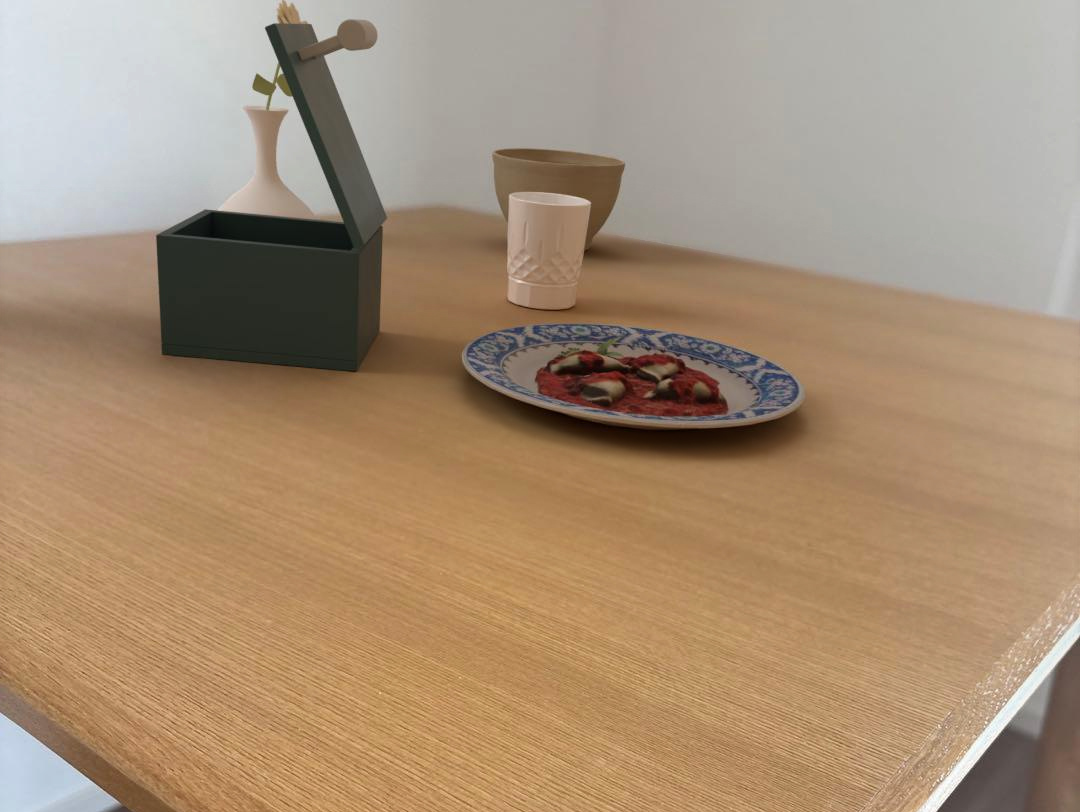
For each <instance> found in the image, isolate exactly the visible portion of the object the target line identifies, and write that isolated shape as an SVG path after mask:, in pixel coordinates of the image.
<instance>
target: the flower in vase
mask: <svg viewBox="0 0 1080 812" xmlns="http://www.w3.org/2000/svg"><path fill="white" fill-rule="evenodd" d="M276 13H277V14H276V20H277V22H278V23H284V24H309V22H308V21H307V20H303V21H301V17H300V14H299V11H298V9H297V8H296V6H295V4H294V2H290V3H289V5H288V4H287V2H286V0H281V2H279V3H278V7H276ZM280 70H281V67H280V64H279V62H278V61H277V65H276V68H275V72H274V76H273V79H272V82H271V81H269V80H268V79H266V78H264V77H263V76H261V74H259V73H256V74H255V75H254V79H253V81H252V84H251V85H252V86H251V87H252V90H253V91H255V92H257V93H259V94H261V95H264V96H267V101H266V104H265V105H242V109H243V110H244V112H245V113H246V114H247V117H248V118H249V121H250V123H251V126H252V130H253V136H254V140H255V141H254V143H255V169H254V173H253V175H252V177H251V178H250V179H249V180H248V182H247V183H246V184H244V186H242V187H241V188H239V189H238V190H237V191H236V192H235V193H233V194H232V195H231V196H230V197H229V198H227V199H226V200H225V201H224V202H223V203H222V204H221V205H220V207H218V209H217V211H228V212H239V213H250V214H260V215H271V216H282V217H293V218H303V219H314V220H317V219H316V216H315V214H314V212H313V211H312V210H311V209H310V207H309V206H308V205H307V204H306V203H305V202H304V201H303V200H301V198H299V197H298V196H297V195H296V194H295V193H294V192H293V190H291V189H289V188H288V186H287V185H286V184H285V183H284V182H283V180H281V178H280V175H279V172H278V167H277V147H278V138H279V133H280V128H281V125H282V122H283V121H284V118H285V117H286V116H287V114H288V113H289V109H287V108H283V107H277V106H271V101H272V98H273V94H274V92H276V90H277V86H278V87H279V89H280V90H281V91H282V93H283V94H284V95H285V96H287V97H290V98H291V97H292V98H293V96H292V94H291V91H290V89H289V86H288V84H287V81H286V79H285V77H284V74H283V73H280ZM279 73H280V74H279Z"/></svg>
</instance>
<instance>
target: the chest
mask: <svg viewBox="0 0 1080 812" xmlns="http://www.w3.org/2000/svg"><path fill="white" fill-rule="evenodd" d="M383 235H384V227H383V225H381V226H380V227H379V228H378V230H377V231H376V232H375V233H374V234H373V235H372V237H371V238H370V239H369V240H368V241H367V242H366V244H365V245H364V246H361V247H358V248H354V246H353V244H352V241H351V239H350V236H349V234H348V231H347V229H346V226H345V224H344V222H343V221H335V220H323V219H316V220H314V219H303V218H293V217H282V216H271V215H260V214H250V213H239V212H228V211H218V209H216V210H215V209H208V208H207V209H206V208H205V209H203V210H202V211H199V212H198V213H196V214H194V215H192V216H190V217H187V218H186V219H184V220H182V221H181V222H180V221H179V223H177V224H174V225H173V226H171V227H169V228H167V229H165V230H163V231H161V232H159V233H157V234H156V236H155V243H156V260H157V261H156V263H157V281H158V283H157V284H158V303H159V321H160V341H161V344H160V345H161V354H162V355H166V356H167V355H168V356H178V357H190V358H201V359H211V360H223V361H232V362H233V361H234V362H243V363H257V364H269V365H279V366H291V367H300V368H301V367H302V368H311V369H312V368H313V369H325V370H336V371H344V372H345V371H347V372H358V369H359V368H360V367H361V364H362V363H363V361H364V359H365V357H366V356H367V354H368V352H369V350H370V348H371V346H372V345H373V343H374V341H375V339H377V337H378V334H379V333H380V330H381V327H380V326H381V301H382V300H381V299H382V272H383V271H382V269H383V268H382V267H383V237H384V236H383Z"/></svg>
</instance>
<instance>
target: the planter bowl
mask: <svg viewBox="0 0 1080 812" xmlns="http://www.w3.org/2000/svg"><path fill="white" fill-rule="evenodd" d="M491 153H492V154H491V155H492V163H493V183H494V191H495V194H496V198H497V202H498V205H499V208H500V210H501V212H502V215H503V217H504V219H505V221H506V223H507V224H508V213H509V195H510V194H512V193H516V192H543V193H554V194H562V195H569V196H574V197H579V198H583V199H586V200H588V201H590V202H591V207H590V214H589V221H588V228H587V235H586V242H585V248H584V252H585V251H587V250H590V248H591V246H592V241H593V239H594V237H595V236H596V235H597V234H598V232H600V230H601V229H602V228H603V227H604V225H605V224H606V222H607V220H608V219H609V217H610V215H611V214H612V211H613V209H614V207H615V205H616V202H617V199H618V197H619V193H620V189H621V184H622V176H623V175H624V171H625V168H626V161H624V159H620V158H617V157H613V156H608V155H603V154H596V153H590V152H589V153H588V152H581V151H574V150H562V149H549V148H530V147H529V148H528V147H512V148H511V147H510V148H509V147H508V148H500V149H495V150H493V151H492V152H491Z"/></svg>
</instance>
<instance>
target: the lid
mask: <svg viewBox="0 0 1080 812" xmlns="http://www.w3.org/2000/svg"><path fill="white" fill-rule="evenodd" d="M264 30H265V32H266V35H267V37H268V41H269V42H270V44H271V47H272V49H273V51H274V52H273V53H274V54H275V57H276V59H277V63H278V62H279V64H280V70H281V71H282V74H284V77H285V79H286V81H287V84H288V86H289V89H290V91H291V94H292V99H293V101H294V104H295V106H296V108H297V112H298V113H299V116H300V118H301V121H302V124H303V126H304V128H305V130H306V133H307V136H308V138H309V140H310V143H311V145H312V148H313V150H314V153H315V155H316V157H317V160H318V163H319V165H320V167H321V170H322V172H323V175H324V178H325V180H326V182H327V185H328V188H329V190H330V192H331V195H332V197H333V199H334V202H335V204H336V207H337V209H338V211H339V214H340V217H341V219H342V222H344V224H345V226H346V229H347V231H348V234H349V236H350V239H351V241H352V244H353V246H354V248H358V247H361V246H364V245H365V244H366V242H367V241H368V240H369V239H370V238H371V237H372V235H373V234H374V233H375V232H376V231H377V230H378V228H379V227H380V226H383V224H384V223H385V222H386V221H387V219H388V216H387V214H386V211H385V208H384V206H383V204H382V200H381V198H380V196H379V194H378V191H377V188H376V186H375V182H374V181H373V178H372V175H371V172H370V171H369V167H368V165H367V163H366V160H365V157H364V154H363V152H362V150H361V148H360V145H359V141H358V139H357V137H356V134H355V131H354V129H353V127H352V124H351V121H350V119H349V116H348V114H347V111H346V109H345V106H344V104H343V101H342V99H341V96H340V93H339V91H338V88H337V86H336V83H335V79H334V78H333V76H332V73H331V70H330V68H329V65H328V63H327V60H326V58H325V56H327V55H331V54H332V53H335V52H337V51H340V50H342V49H345V50H347V51H350V52H354V51H363V50H364V51H365V50H369V49H372V48H373V47H374V46H375V45H376V43H377V41H378V31H377V28H376V26H375V25H374V23H372V22H371V21H369V20H366V19H356V18H355V19H352V18H351V19H350V18H349V19H346V20H343V21H341V23H340V24H339V25H338V28H337V31H336V35H333V36H330V37H327V38H326V39H322V40H320V41H319V40H318V36H317V34H316V32H315V30H314V28H313V24H311V23H308V24H284V23H279V22H278V23H276V22H275V23H274V22H273V23H271V24H268V25H266V26H265V27H264Z"/></svg>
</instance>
